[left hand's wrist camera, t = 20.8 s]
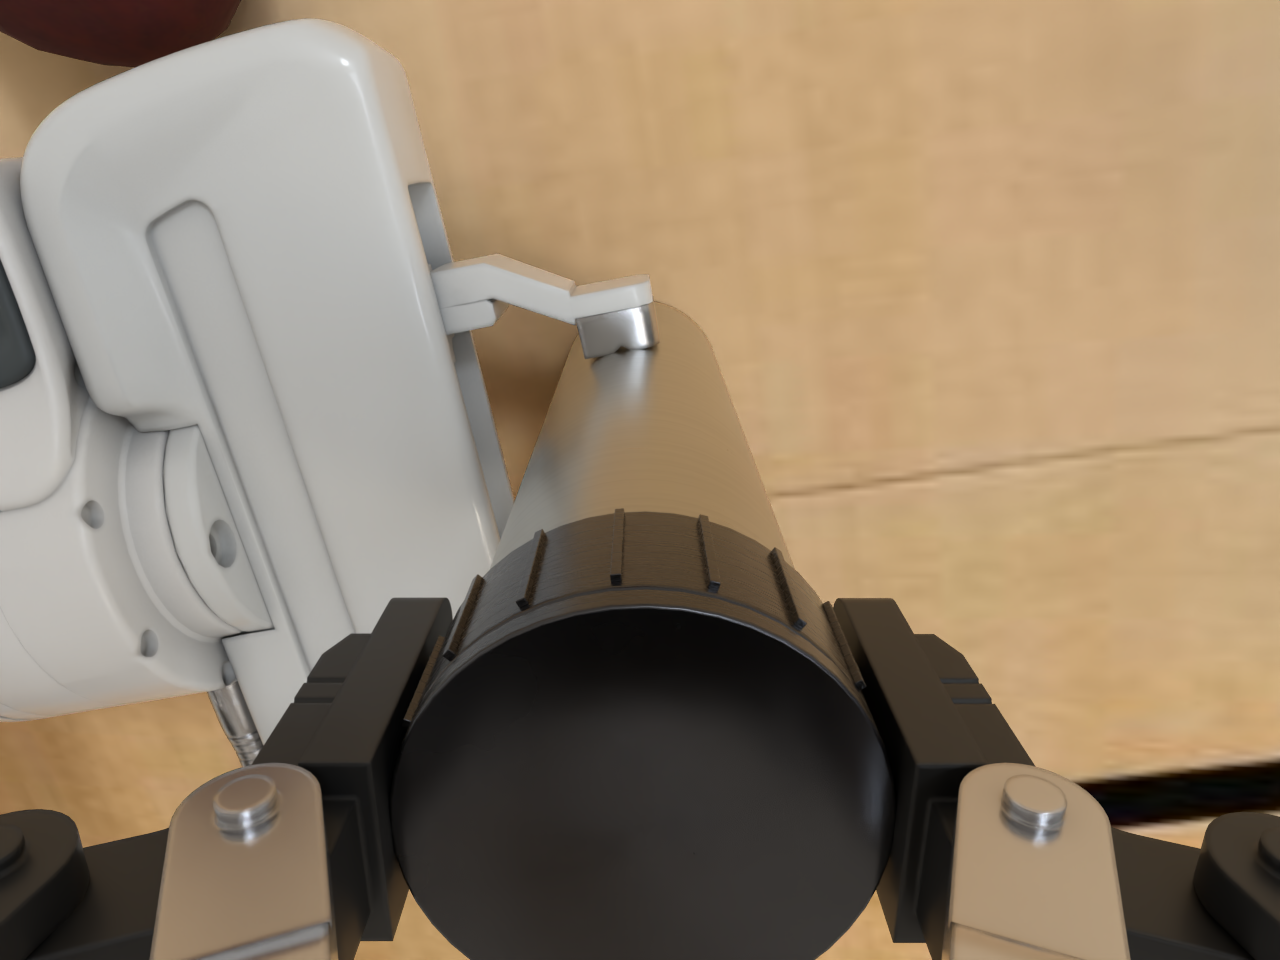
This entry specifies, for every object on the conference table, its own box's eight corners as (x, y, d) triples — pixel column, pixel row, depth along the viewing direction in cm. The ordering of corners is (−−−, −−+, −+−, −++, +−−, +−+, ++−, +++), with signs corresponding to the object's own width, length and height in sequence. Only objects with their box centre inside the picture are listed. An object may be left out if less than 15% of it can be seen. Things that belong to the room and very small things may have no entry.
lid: (535, 907, 12) (512, 1071, 10) (357, 592, 11) (283, 705, 8) (900, 794, 12) (961, 943, 9) (772, 439, 10) (808, 518, 8)
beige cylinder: (673, 272, 27) (744, 515, 8) (741, 406, 28) (926, 859, 10) (538, 345, 27) (337, 711, 9) (611, 472, 29) (560, 1003, 11)
